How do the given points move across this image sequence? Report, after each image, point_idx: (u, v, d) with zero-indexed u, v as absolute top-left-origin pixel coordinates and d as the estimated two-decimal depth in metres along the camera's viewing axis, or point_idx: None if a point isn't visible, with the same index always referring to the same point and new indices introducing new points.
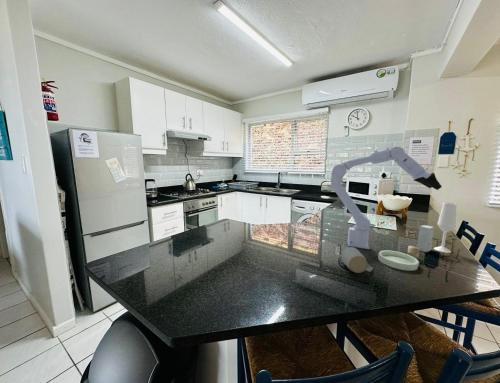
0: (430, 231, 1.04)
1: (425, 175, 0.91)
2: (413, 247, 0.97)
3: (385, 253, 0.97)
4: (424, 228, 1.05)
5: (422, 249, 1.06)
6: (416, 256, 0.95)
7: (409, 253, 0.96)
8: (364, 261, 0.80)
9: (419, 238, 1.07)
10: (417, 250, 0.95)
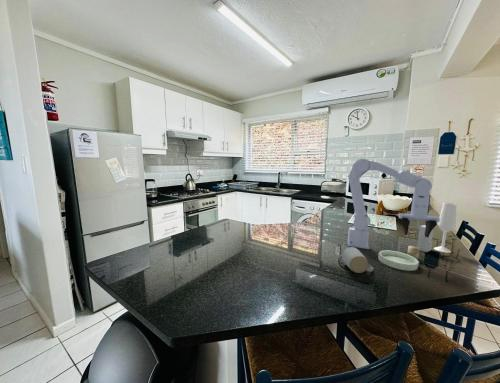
0: None
1: None
2: (413, 247, 0.97)
3: (385, 253, 0.97)
4: (424, 228, 1.05)
5: (422, 249, 1.06)
6: (416, 256, 0.95)
7: (409, 253, 0.96)
8: (365, 261, 0.80)
9: (419, 238, 1.07)
10: (417, 250, 0.95)
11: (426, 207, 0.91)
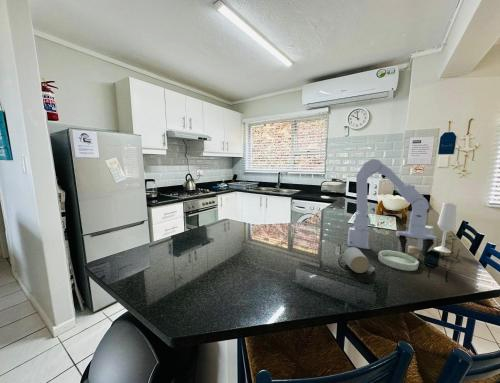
0: (430, 231, 1.04)
1: (396, 232, 0.99)
2: (413, 247, 0.97)
3: (385, 253, 0.97)
4: None
5: None
6: (416, 256, 0.95)
7: (409, 253, 0.96)
8: (366, 261, 0.80)
9: None
10: (417, 250, 0.95)
11: (423, 226, 0.92)
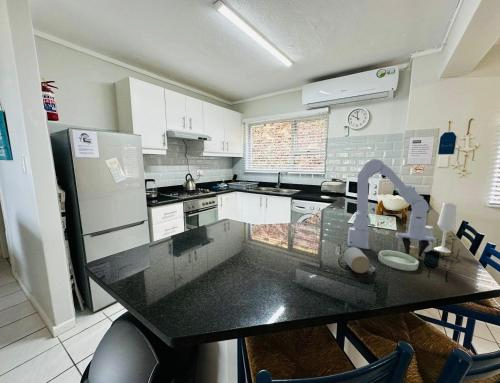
0: (430, 231, 1.04)
1: (396, 234, 0.99)
2: (413, 247, 0.97)
3: (385, 253, 0.97)
4: None
5: None
6: (416, 256, 0.95)
7: (409, 253, 0.96)
8: (367, 261, 0.80)
9: None
10: (417, 250, 0.95)
11: (423, 228, 0.92)
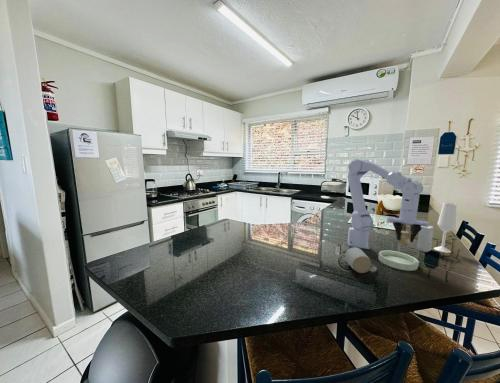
0: (430, 231, 1.04)
1: (387, 219, 0.94)
2: (405, 232, 0.92)
3: (385, 253, 0.97)
4: (424, 228, 1.05)
5: (422, 249, 1.06)
6: (408, 241, 0.90)
7: (401, 239, 0.91)
8: (368, 261, 0.80)
9: (419, 238, 1.07)
10: (409, 235, 0.90)
11: (415, 211, 0.88)
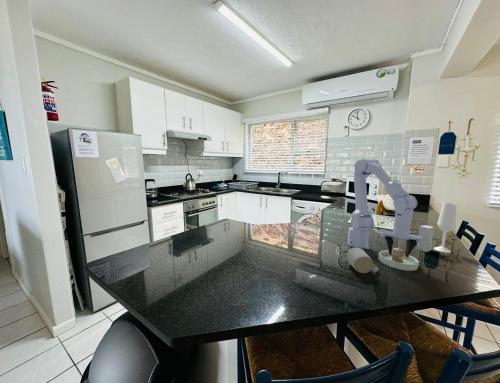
0: (430, 231, 1.04)
1: None
2: (398, 249, 0.91)
3: (385, 253, 0.97)
4: (424, 228, 1.05)
5: (422, 249, 1.06)
6: (401, 259, 0.89)
7: (394, 256, 0.91)
8: (370, 261, 0.80)
9: None
10: (402, 252, 0.89)
11: (408, 226, 0.87)
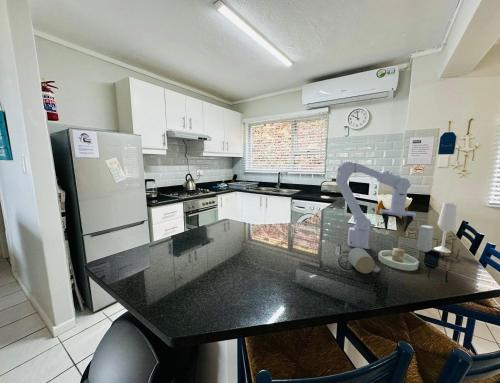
0: (430, 231, 1.04)
1: None
2: (398, 249, 0.91)
3: (385, 253, 0.97)
4: (424, 228, 1.05)
5: (422, 249, 1.06)
6: (401, 259, 0.89)
7: (394, 256, 0.91)
8: (372, 262, 0.80)
9: (419, 238, 1.07)
10: (402, 252, 0.89)
11: (403, 204, 1.00)
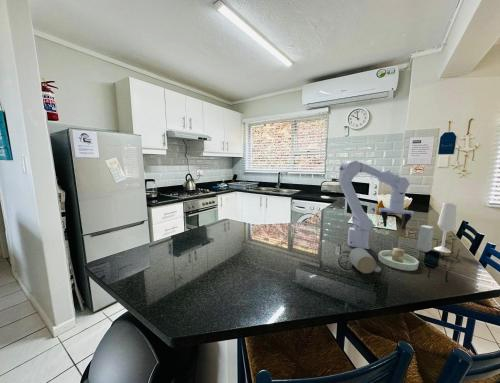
0: (430, 231, 1.04)
1: None
2: (398, 249, 0.91)
3: (385, 253, 0.97)
4: (424, 228, 1.05)
5: (422, 249, 1.06)
6: (401, 259, 0.89)
7: (394, 256, 0.91)
8: (373, 262, 0.79)
9: (419, 238, 1.07)
10: (402, 252, 0.89)
11: (402, 202, 1.04)
